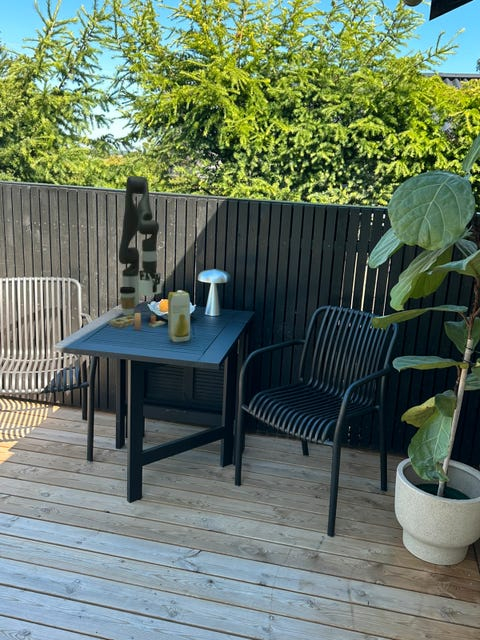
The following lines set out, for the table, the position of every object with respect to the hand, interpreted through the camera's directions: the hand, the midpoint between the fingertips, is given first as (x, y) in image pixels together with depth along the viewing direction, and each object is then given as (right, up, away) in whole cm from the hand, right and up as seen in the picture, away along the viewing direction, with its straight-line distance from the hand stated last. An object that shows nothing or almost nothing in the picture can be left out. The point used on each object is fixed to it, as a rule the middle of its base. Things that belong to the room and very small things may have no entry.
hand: (150, 291), depth 301 cm
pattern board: (+4, -17, -4) cm, 18 cm away
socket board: (-12, -17, -4) cm, 21 cm away
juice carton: (+18, -25, -29) cm, 42 cm away
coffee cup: (-14, -12, +15) cm, 24 cm away
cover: (0, -1, 0) cm, 1 cm away
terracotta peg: (-4, -20, -13) cm, 24 cm away
